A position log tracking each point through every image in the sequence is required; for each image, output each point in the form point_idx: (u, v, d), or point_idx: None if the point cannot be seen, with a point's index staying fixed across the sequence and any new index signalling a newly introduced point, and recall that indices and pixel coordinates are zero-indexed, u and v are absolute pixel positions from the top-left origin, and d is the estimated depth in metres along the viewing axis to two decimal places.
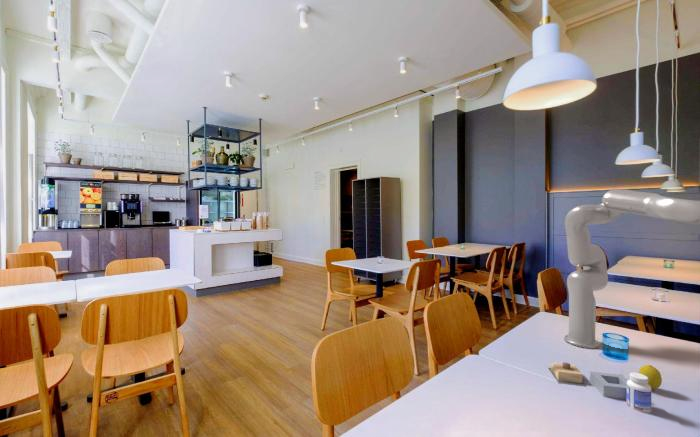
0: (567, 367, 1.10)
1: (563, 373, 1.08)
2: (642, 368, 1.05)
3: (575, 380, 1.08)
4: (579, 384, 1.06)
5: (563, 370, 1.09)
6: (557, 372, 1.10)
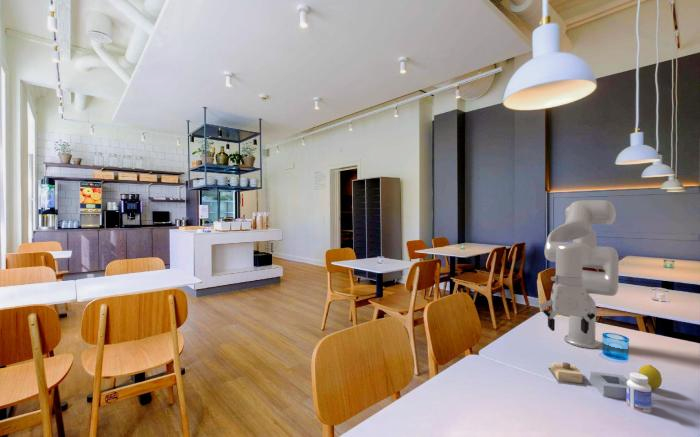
0: (567, 367, 1.10)
1: (563, 373, 1.08)
2: (642, 368, 1.05)
3: (575, 380, 1.08)
4: (579, 384, 1.06)
5: (563, 370, 1.09)
6: (557, 372, 1.10)
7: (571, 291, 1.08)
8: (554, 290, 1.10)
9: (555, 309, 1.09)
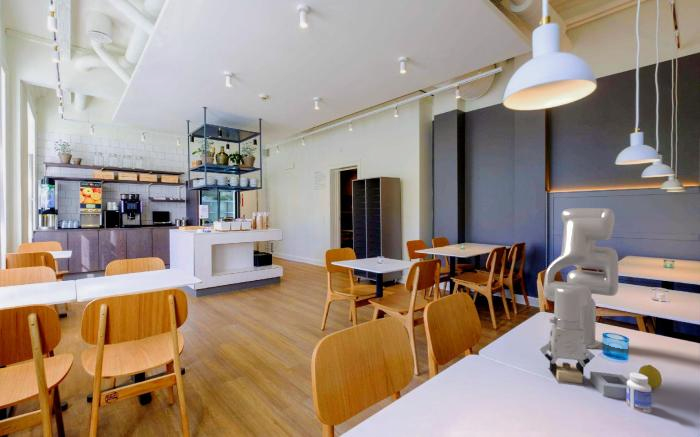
0: (567, 367, 1.10)
1: (563, 373, 1.08)
2: (642, 368, 1.05)
3: (575, 380, 1.08)
4: (579, 384, 1.06)
5: (563, 370, 1.09)
6: (557, 372, 1.10)
7: (570, 335, 1.08)
8: (553, 333, 1.11)
9: (554, 352, 1.10)
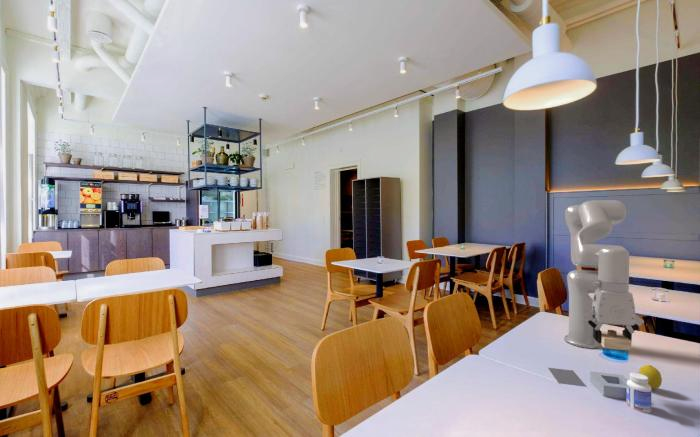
0: (613, 334, 1.02)
1: (609, 340, 1.00)
2: (642, 368, 1.05)
3: (623, 347, 0.99)
4: (579, 384, 1.06)
5: (609, 337, 1.01)
6: (602, 339, 1.01)
7: (617, 298, 1.00)
8: (597, 297, 1.02)
9: (599, 317, 1.01)
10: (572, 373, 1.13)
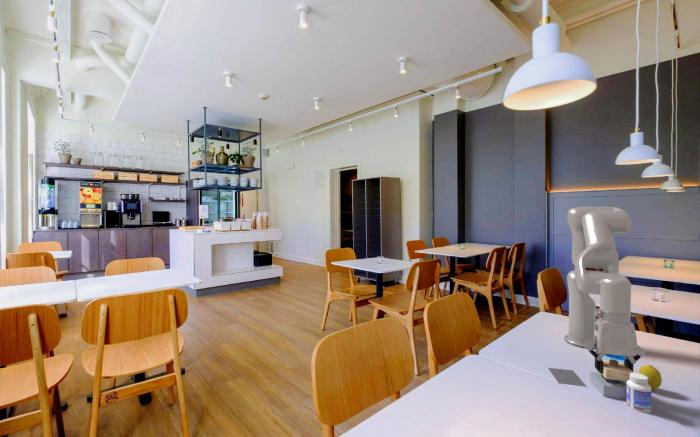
0: (615, 364, 1.01)
1: (612, 371, 1.00)
2: (642, 368, 1.05)
3: (625, 378, 0.99)
4: (579, 384, 1.06)
5: (611, 367, 1.01)
6: (604, 370, 1.01)
7: (619, 329, 0.99)
8: (599, 327, 1.02)
9: (600, 348, 1.01)
10: (572, 373, 1.13)
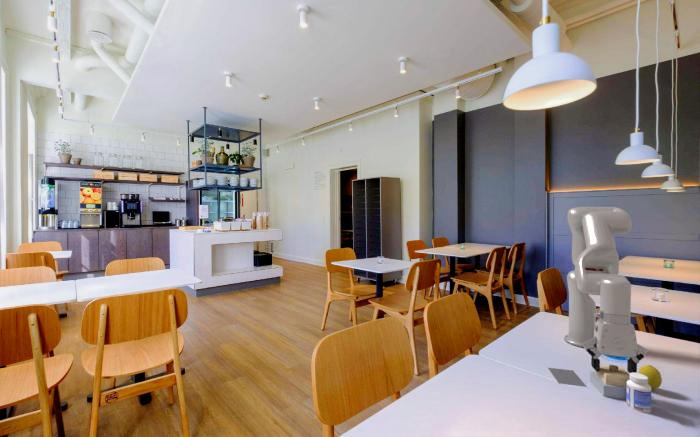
0: (615, 370, 1.01)
1: (611, 376, 1.00)
2: (642, 368, 1.05)
3: (625, 384, 0.99)
4: (579, 384, 1.06)
5: (611, 373, 1.01)
6: (604, 375, 1.01)
7: (619, 330, 0.99)
8: (599, 328, 1.02)
9: (600, 349, 1.01)
10: (572, 373, 1.13)
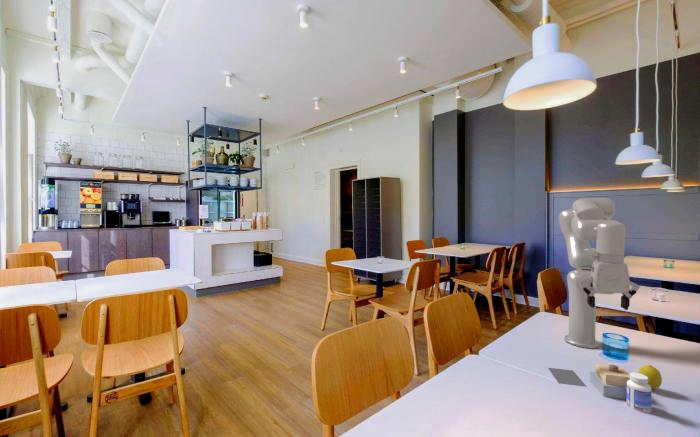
0: (615, 370, 1.01)
1: (611, 376, 1.00)
2: (642, 368, 1.05)
3: (625, 384, 0.99)
4: (579, 384, 1.06)
5: (611, 373, 1.01)
6: (604, 375, 1.01)
7: (613, 269, 1.08)
8: (595, 268, 1.11)
9: (596, 286, 1.10)
10: (572, 373, 1.13)
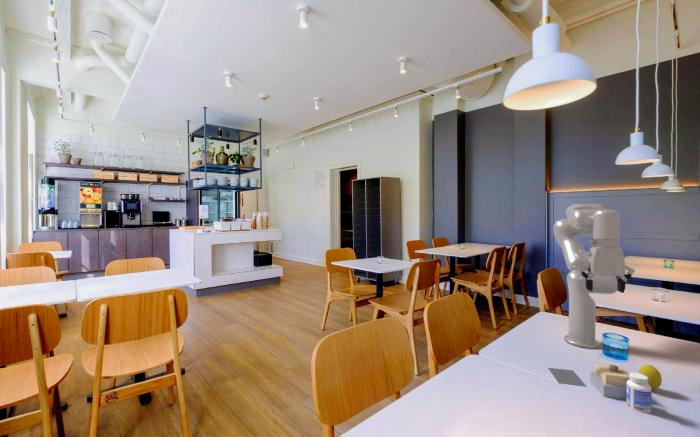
0: (615, 370, 1.01)
1: (611, 376, 1.00)
2: (642, 368, 1.05)
3: (625, 384, 0.99)
4: (579, 384, 1.06)
5: (611, 373, 1.01)
6: (604, 375, 1.01)
7: (609, 253, 1.15)
8: (592, 252, 1.18)
9: (593, 270, 1.17)
10: (572, 373, 1.13)
